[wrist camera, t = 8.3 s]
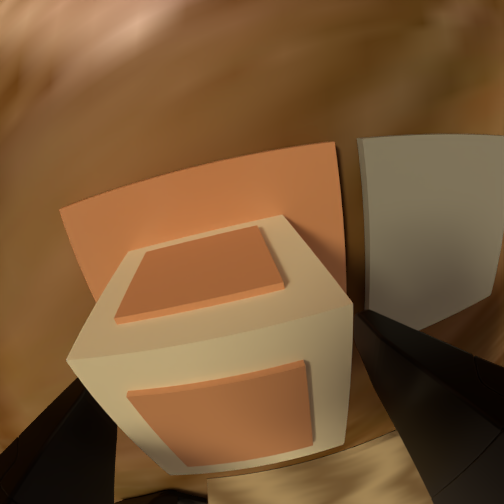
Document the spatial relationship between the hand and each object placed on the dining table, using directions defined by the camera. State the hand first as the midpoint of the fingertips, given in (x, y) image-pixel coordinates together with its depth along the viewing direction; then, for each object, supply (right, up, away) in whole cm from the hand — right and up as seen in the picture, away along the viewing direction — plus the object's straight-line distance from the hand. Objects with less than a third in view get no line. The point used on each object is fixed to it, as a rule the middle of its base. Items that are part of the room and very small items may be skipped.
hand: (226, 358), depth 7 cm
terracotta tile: (0, +1, +3) cm, 3 cm away
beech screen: (+5, -15, +10) cm, 19 cm away
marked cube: (0, +1, +3) cm, 3 cm away
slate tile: (+9, +3, +3) cm, 10 cm away
